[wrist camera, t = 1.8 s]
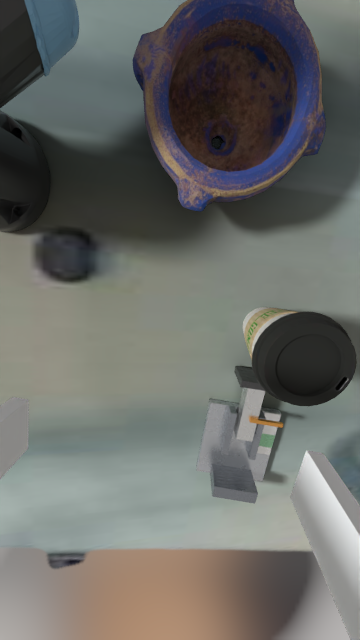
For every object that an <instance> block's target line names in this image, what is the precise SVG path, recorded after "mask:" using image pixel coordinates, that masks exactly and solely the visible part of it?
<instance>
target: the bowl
mask: <svg viewBox="0 0 360 640" xmlns="http://www.w3.org/2000/svg"><path fill="white" fill-rule="evenodd" d="M133 70H134V74H135V77H136V80H137V81H138V83H139V85H140V87H141V89H142V90H143V94H144V112H145V123H146V127H147V131H148V134H149V138H150V141H151V145H152V148H153V150H154V152H155V154H156V156H157V158H158V159H159V161H160V163H161V165H162V167H163V168H164V169H165V170H166V172H167V173H168V174H169V175H170V177H171V178H172V179H173V181H174V182H175V183H176V185H177V189H178V200H179V202H180V203H181V205H182V206H183V207H185V208H187V209H190V210H195V211H200V212H201V211H203V210H204V209H205V207H206V205H208V204H210V203H212V202H214V201H215V202H232V201H237V200H242V199H247V198H249V197H252V196H254V195H257V194H259V193H261V192H264V191H265V190H267V189H268V188H269V187H271V186H272V185H274V184H275V183H276V182H278V181H279V180H281V179H282V178H283V177H284V175H285V174H286V173H287V172H288V171H289V170H290V169H291V168H292V167H293V165H294V164H295V163H296V162H297V161H298V160H299V159H300V158H301V157H302V156H308V155H314V154H317V153H318V151H319V148H320V146H321V144H322V141H323V137H324V134H325V129H326V122H325V115H324V110H323V106H322V74H321V67H320V59H319V52H318V49H317V47H316V44H315V42H314V39H313V37H312V34H311V32H310V30H309V28H308V27H307V25H306V24H305V22H304V21H303V19H302V18H301V16H300V14H299V13H298V11H297V9H296V7H295V5H294V0H187V1H186V2H184V3H183V4H181V5H180V6H179V7H178V8H177V9H176V11H175V12H174V13H173V14H172V16H171V17H170V18H169V20H168V21H167V22H166V23H165V25H164V26H163V27H161V28H159V29H157V30H155V31H153V32H150V33H146V34H143V35H142V36H141V38H140V41H139V43H138V46H137V49H136V51H135V54H134V57H133ZM216 136H220V137H222V139H223V141H225V142H224V143H222V144H221V146H220V149H216V148H214V147H212V139H213V138H214V137H216Z"/></svg>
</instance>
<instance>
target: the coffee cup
mask: <svg viewBox="0 0 360 640" xmlns="http://www.w3.org/2000/svg"><path fill="white" fill-rule="evenodd" d="M243 332H244V336H245V341H246V344H247V347H248V350H249V353H250V356H251V359H252V368H253V372H254V375H255V377H256V379H257V381H258V382H259V384H260V385H261V386H262V387H263V388H264V389H265V390H266V391H267V392H268V393H269V394H271V395H272V396H274V397H275V398H277V399H280V400H282V401H284V402H288V403H290V404H293V405H298V406H313V405H318V404H322V403H325V402H327V401H329V400H331V399H333V398H335V397H336V396H337V395H339V394H340V393H341V392H342V391H343V390H344V389H345V388H346V387H347V386H348V384H349V383H350V381H351V380H352V377H353V375H354V372H355V368H356V353H355V349H354V346H353V345H352V343H351V340H350V338H349V336H348V335H347V333H346V331H345V330H344V329H343V328H342V327H341V326H340V325H339V324H338V323H337V322H335V321H334V320H332V319H331V318H330V317H327V316H325V315H322V314H319V313H314V312H295V311H289V310H283V309H278V308H268V307H261V308H257V309H254V310H253V311H251V312H250V313H249V314H248V315H247V316H246V318H245V320H244V323H243Z"/></svg>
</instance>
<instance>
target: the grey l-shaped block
mask: <svg viewBox="0 0 360 640" xmlns="http://www.w3.org/2000/svg"><path fill="white" fill-rule="evenodd" d="M238 407H239V403H234V402H227V401H221V400H215V399H209V404H208V409H207V414H206V419H205V424H204V429H203V434H202V439H201V444H200V450H199V455H198V460H197V465H196V467H197V471H203V472H209V473H210V476H211V488H212V496H214V497H220V498H226V499H231V500H237V501H243V502H249V503H255V502H256V498H257V495H258V493H257V489H256V486H255V482H254V480H257V481H263V477H264V474H265V470H266V467H267V463H268V460H269V456H270V453H271V449H272V446H273V442H274V439H275V435H276V432H277V428H278V427H274V426H268V425H262V424H257V425H256V429H255V433H254V437H253V441H252V442H251V441H245V440H239V439H236V437H235V433H234V426H235V422H236V417H237V412H238ZM280 417H281V413H280V411H279V410H277V409H271V408H265V407H261V410H260V414H259V419H265V420H271V421H277V422H279V421H280Z"/></svg>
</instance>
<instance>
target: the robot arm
mask: <svg viewBox="0 0 360 640" xmlns="http://www.w3.org/2000/svg"><path fill="white" fill-rule="evenodd" d="M78 35H79V16H78V11H77V6H76V2H75V0H0V108H1V107H2V106H4V105H5V104H6V103H8V102H9V101H10V100H12V99H13V98H14V97H15V96H17V95H18V94H19V93H21V92H22V91H23V90H25V89H26V88H27V87H28V86H30V85H31V84H32V83H34V82H35V81H36V80H38V79H39V78H40V77H42V76H43V75H45V76H47V75H49V73H50V68H51V67H52V66H53V65H54V64H55V63H56V62H57V61H59V60H60V59H61V58H62V57H63V56H64V55H65V54H66V53H67V52H68V51H70V50H71V49H72V48H73V46H74V45H75V43H76V41H77V39H78ZM49 191H50V175H49V169H48V165H47V161H46V158H45V156H44V153H43V151H42V149H41V147H40V146H39V144H38V143H37V141H36V140H35V138H34V137H33V136H32V135H31V134H30V133H29V132H28V131H27V130H26V129H25V128H24V127H23V126H21V125H20V124H19V123H18V122H17V121H15V120H14V119H13V118H12V117H10V116H9V115H7V114H6V113H4V112H2V111H0V231H4V232H11V231H17V230H20V229H23V228H25V227H27V226H29V225H30V224H32V223H33V222H34V221H35V220H36V219H37V218H38V217H39V216H40V214H41V213H42V211H43V210H44V208H45V206H46V203H47V200H48V196H49ZM28 420H29V400H28V399H22V398H17V397H12V398H10V399H9V400H8V401H6V402H5V403H4V404H2V405H1V406H0V479H1V478H2V477H3V476H4V475H5V473H6V472H7V471H8V470H9V469H10V468H11V467H12V466H13V465H14V464H15V462H16V461H17V460H18V459H19V458H20V457H21V456H22V455H23V454H24V452H25V451H26V450H27V449H28ZM290 498H291V500H292V503H293V505H294V507H295V510H296V512H297V514H298V517H299V519H300V521H301V524H302V526H303V528H304V531H305V533H306V536H307V538H308V540H309V543H310V545H311V547H312V550H313V552H314V554H315V557H316V559H317V561H318V564H319V566H320V569H321V571H322V573H323V575H324V578H325V580H326V583H327V585H328V587H329V589H330V592H331V594H332V597H333V599H334V602H335V604H336V606H337V608H338V611H339V613H340V616H341V618H342V620H343V623H344V625H345V628H346V630H347V632H348V635H349V637H350V639H351V640H360V505H359V504H358V502H357V501H356V500H355V498H354V497H353V495H352V494H351V492H350V491H349V490H348V488H347V487H346V485H345V484H344V482H343V481H342V480H341V478H340V477H339V475H338V474H337V472H336V471H335V470H334V468H333V467H332V465H331V464H330V462H329V461H328V460H327V458H326V457H325V455H324V454H323V453H319V452H314V451H308V450H307V451H306V453H305V456H304V459H303V462H302V465H301V468H300V470H299V473H298V476H297V479H296V482H295V484H294V487H293V490H292V493H291V496H290Z"/></svg>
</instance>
